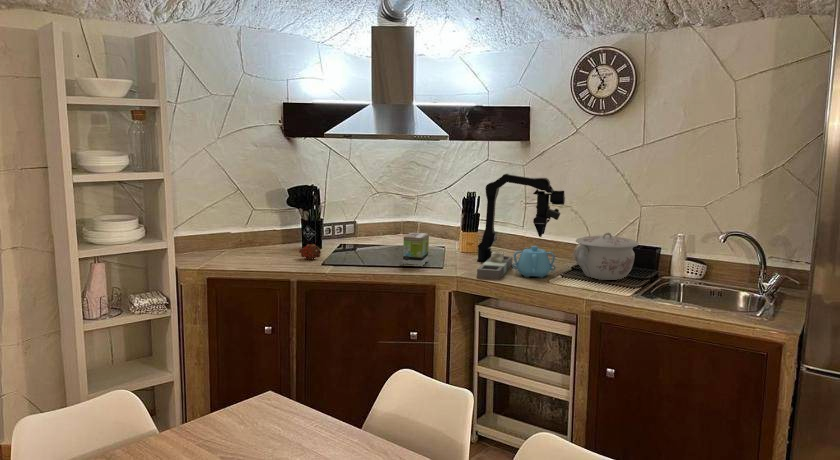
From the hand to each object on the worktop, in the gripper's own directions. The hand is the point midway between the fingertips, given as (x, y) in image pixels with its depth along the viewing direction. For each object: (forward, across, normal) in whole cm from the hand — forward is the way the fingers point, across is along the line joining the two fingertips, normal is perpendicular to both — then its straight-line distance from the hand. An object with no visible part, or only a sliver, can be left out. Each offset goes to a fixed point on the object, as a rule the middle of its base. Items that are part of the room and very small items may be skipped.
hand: (541, 235), depth 326 cm
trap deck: (+15, -22, +18) cm, 32 cm away
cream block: (+11, -18, +18) cm, 28 cm away
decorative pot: (+15, -25, 0) cm, 29 cm away
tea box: (+15, -20, +58) cm, 63 cm away
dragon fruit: (+15, -27, +112) cm, 116 cm away
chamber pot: (+15, -19, -31) cm, 39 cm away
